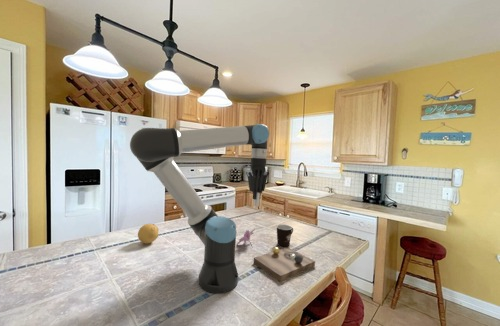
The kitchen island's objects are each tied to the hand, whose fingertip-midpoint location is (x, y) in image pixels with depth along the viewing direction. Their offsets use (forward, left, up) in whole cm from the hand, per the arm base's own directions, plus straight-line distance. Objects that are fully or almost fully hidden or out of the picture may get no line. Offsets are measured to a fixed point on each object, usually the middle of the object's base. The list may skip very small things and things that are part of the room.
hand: (256, 205), depth 104 cm
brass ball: (+6, -10, -20) cm, 23 cm away
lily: (+3, +10, -25) cm, 27 cm away
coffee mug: (+23, 0, -25) cm, 34 cm away
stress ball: (-40, +39, -25) cm, 61 cm away
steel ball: (+12, -15, -23) cm, 30 cm away
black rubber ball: (+9, -21, -20) cm, 30 cm away
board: (+6, -15, -24) cm, 29 cm away
